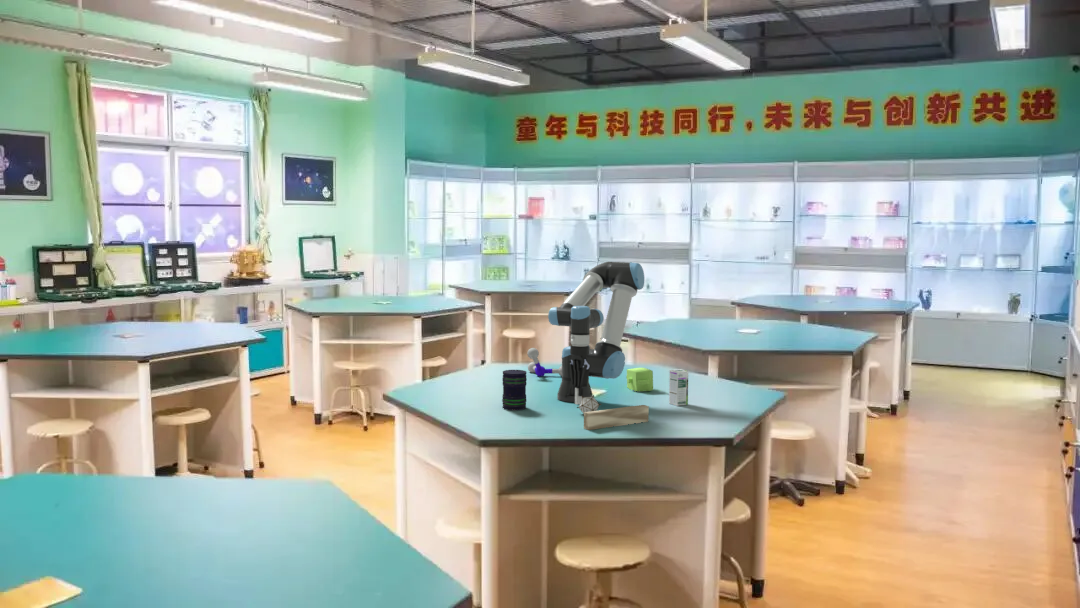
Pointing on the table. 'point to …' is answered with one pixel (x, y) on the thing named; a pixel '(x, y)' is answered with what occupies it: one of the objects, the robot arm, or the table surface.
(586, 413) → the birch board
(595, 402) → the game die
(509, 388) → the storage jar
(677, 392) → the syrup box
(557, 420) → the table surface
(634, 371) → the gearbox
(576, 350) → the robot arm
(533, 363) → the molecular model
